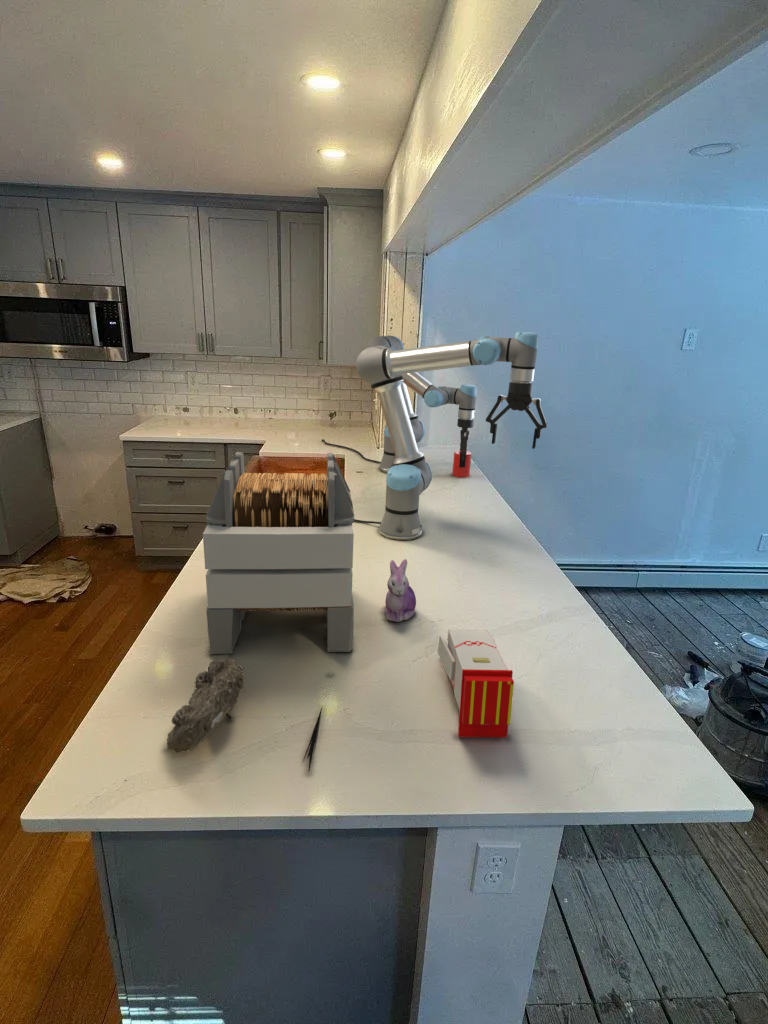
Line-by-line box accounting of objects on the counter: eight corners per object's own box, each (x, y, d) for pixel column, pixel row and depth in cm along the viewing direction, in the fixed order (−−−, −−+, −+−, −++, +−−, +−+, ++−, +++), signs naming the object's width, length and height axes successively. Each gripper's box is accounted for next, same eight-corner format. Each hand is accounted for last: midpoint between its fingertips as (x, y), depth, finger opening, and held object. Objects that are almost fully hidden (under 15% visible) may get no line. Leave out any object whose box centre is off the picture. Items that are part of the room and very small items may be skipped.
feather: (331, 679, 122) (336, 673, 122) (307, 777, 96) (313, 769, 95) (324, 675, 122) (329, 669, 121) (298, 772, 95) (304, 764, 95)
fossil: (192, 660, 117) (244, 628, 112) (224, 691, 120) (276, 661, 115) (142, 746, 98) (202, 712, 93) (182, 779, 101) (242, 748, 96)
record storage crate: (229, 585, 158) (221, 442, 144) (346, 584, 161) (350, 444, 148) (206, 656, 126) (193, 481, 112) (353, 652, 130) (358, 483, 116)
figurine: (392, 627, 141) (395, 572, 136) (374, 608, 149) (376, 556, 144) (425, 619, 145) (429, 566, 140) (405, 601, 154) (408, 550, 149)
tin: (449, 475, 274) (450, 452, 270) (457, 471, 280) (459, 449, 277) (464, 478, 270) (466, 455, 266) (472, 475, 276) (474, 452, 272)
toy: (488, 613, 130) (523, 677, 101) (484, 667, 133) (517, 744, 104) (435, 612, 130) (455, 676, 101) (432, 666, 133) (451, 743, 103)
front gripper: (561, 383, 185) (552, 447, 192) (485, 377, 193) (479, 438, 200) (559, 386, 178) (550, 452, 185) (481, 379, 186) (474, 443, 193)
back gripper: (474, 423, 255) (470, 471, 262) (473, 414, 276) (468, 458, 284) (458, 422, 255) (454, 469, 263) (457, 413, 277) (453, 457, 284)
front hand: (513, 445), depth 192 cm, fingers open, 13 cm apart
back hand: (461, 464), depth 273 cm, fingers open, 10 cm apart
